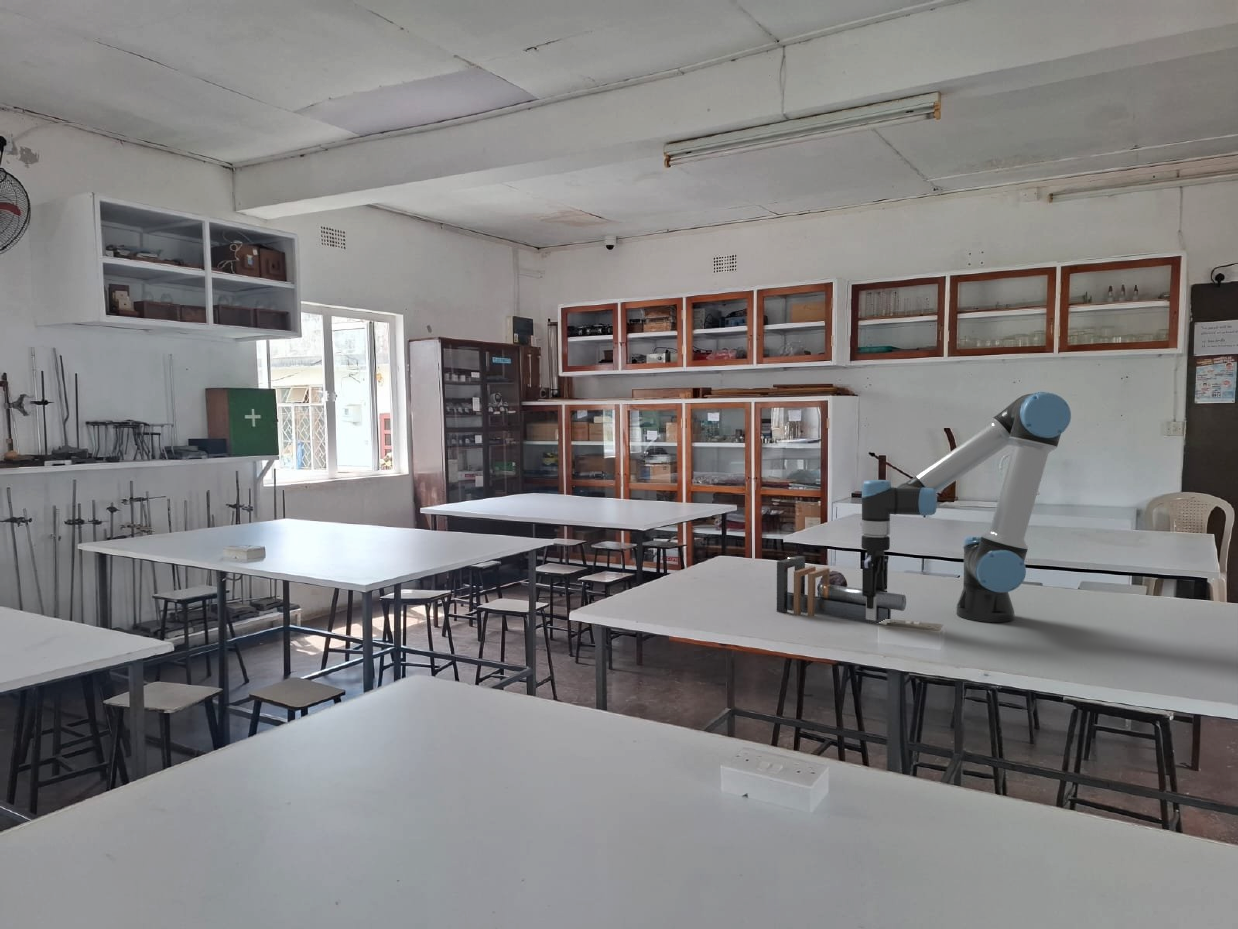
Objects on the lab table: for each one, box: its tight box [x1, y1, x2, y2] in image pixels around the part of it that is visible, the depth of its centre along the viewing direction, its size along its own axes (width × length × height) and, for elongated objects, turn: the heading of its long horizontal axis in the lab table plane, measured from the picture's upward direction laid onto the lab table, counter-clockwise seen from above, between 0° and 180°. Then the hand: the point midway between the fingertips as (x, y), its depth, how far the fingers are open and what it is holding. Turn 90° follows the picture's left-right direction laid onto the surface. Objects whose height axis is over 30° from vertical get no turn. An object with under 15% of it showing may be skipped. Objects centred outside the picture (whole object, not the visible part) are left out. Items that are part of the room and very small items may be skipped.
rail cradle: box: [788, 591, 892, 624], centre depth 230 cm, size 32×3×4 cm, turn 50°
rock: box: [816, 570, 849, 597], centre depth 250 cm, size 12×9×10 cm
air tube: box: [819, 584, 907, 612], centre depth 225 cm, size 24×4×4 cm, turn 50°
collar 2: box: [807, 567, 831, 618], centre depth 233 cm, size 2×11×12 cm, turn 140°
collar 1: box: [793, 565, 817, 615], centre depth 236 cm, size 2×11×12 cm, turn 140°
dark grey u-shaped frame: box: [776, 555, 806, 614], centre depth 239 cm, size 2×13×15 cm, turn 140°
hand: (874, 617), depth 222 cm, fingers closed on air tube, 4 cm apart
